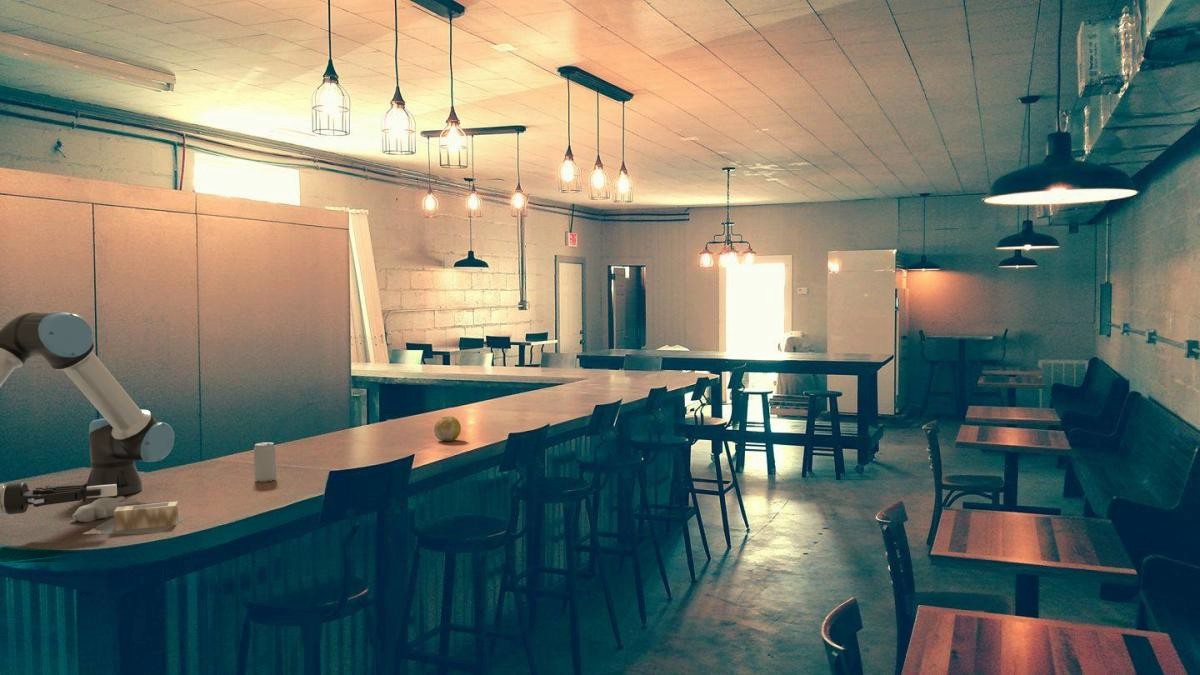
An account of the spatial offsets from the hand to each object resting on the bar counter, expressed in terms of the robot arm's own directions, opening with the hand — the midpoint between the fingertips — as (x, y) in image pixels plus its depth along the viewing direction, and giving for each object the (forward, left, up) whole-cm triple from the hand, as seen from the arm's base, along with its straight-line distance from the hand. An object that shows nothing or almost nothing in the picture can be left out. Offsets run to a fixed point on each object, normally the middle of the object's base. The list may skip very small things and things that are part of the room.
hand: (116, 489), depth 215 cm
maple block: (0, 0, -8) cm, 8 cm away
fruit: (+65, +122, -11) cm, 139 cm away
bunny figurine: (-11, +13, -11) cm, 20 cm away
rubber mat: (+3, +3, -10) cm, 11 cm away
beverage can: (+17, +55, -11) cm, 59 cm away
